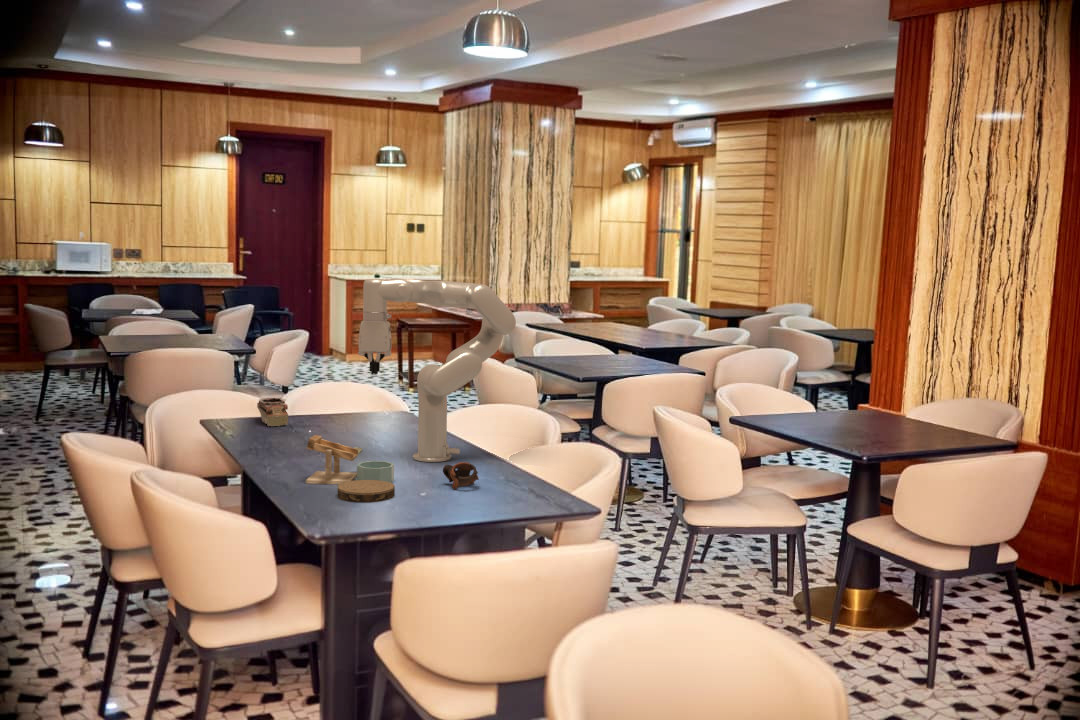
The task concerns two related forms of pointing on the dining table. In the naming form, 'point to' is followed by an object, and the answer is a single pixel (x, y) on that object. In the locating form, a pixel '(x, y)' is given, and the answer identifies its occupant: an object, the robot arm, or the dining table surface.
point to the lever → (333, 448)
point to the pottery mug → (460, 474)
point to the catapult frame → (330, 476)
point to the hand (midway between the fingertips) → (374, 373)
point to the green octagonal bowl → (376, 471)
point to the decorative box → (273, 411)
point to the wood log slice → (366, 491)
